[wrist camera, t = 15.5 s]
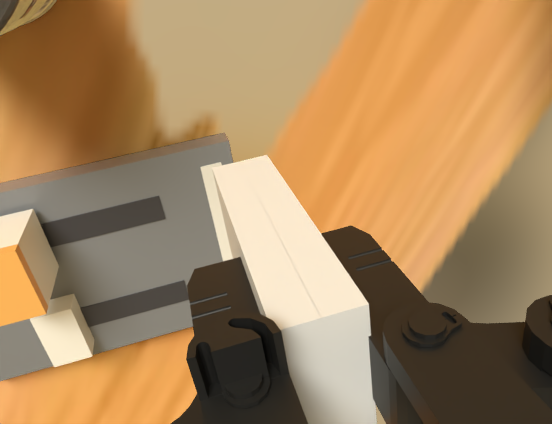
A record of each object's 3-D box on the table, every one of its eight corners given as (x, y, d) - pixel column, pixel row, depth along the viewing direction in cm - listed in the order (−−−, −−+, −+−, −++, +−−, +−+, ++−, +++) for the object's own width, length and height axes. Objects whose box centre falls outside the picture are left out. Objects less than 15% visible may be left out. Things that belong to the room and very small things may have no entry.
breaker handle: (33, 208, 34) (15, 250, 29) (59, 266, 36) (46, 314, 31) (-12, 219, 33) (-38, 263, 28) (17, 276, 36) (-3, 327, 31)
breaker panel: (224, 132, 37) (233, 149, 34) (258, 293, 45) (267, 320, 42) (-108, 207, 34) (-136, 234, 30) (-10, 368, 42) (-24, 404, 38)
